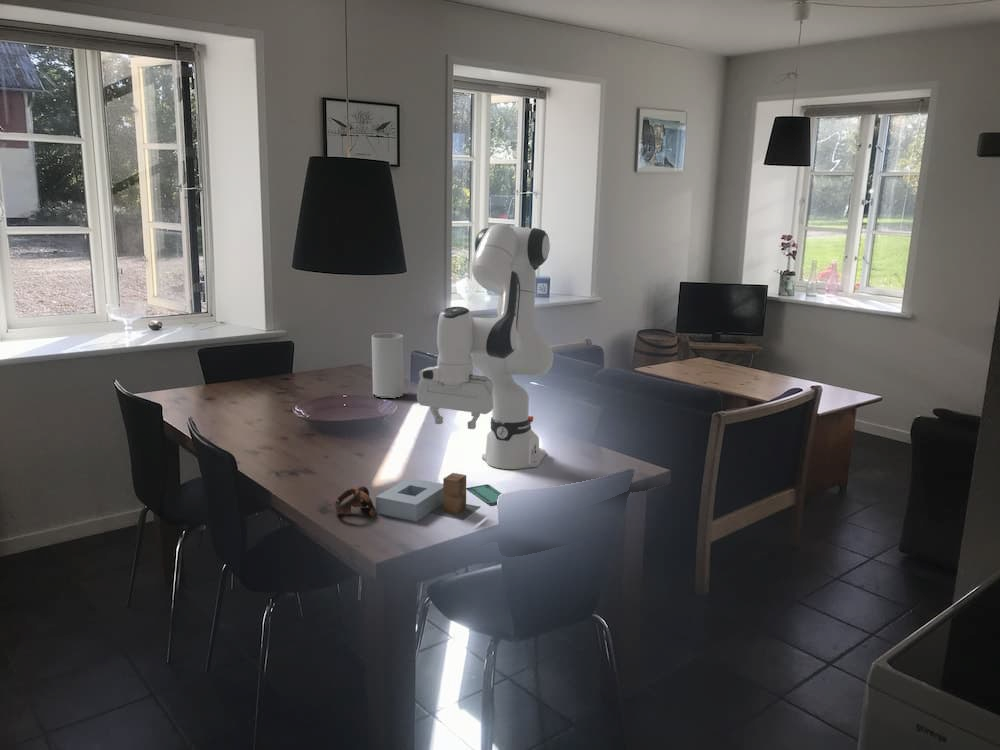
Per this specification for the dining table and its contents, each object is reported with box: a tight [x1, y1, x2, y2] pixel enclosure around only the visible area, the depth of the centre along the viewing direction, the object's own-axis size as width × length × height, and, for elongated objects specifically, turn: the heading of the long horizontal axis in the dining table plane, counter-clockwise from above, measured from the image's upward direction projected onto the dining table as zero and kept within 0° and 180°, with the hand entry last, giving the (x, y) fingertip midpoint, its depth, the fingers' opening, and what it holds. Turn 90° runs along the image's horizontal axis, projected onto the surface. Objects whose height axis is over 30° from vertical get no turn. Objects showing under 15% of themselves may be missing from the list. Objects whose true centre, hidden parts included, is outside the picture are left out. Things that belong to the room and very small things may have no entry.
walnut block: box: [442, 472, 467, 514], centre depth 206 cm, size 5×4×9 cm
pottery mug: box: [333, 486, 377, 518], centre depth 204 cm, size 12×10×8 cm
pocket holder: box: [375, 477, 443, 522], centre depth 208 cm, size 16×12×5 cm
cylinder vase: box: [371, 332, 405, 397], centre depth 325 cm, size 12×12×25 cm
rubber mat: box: [428, 503, 481, 521], centre depth 207 cm, size 10×10×1 cm
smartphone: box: [466, 484, 503, 507], centre depth 217 cm, size 7×1×15 cm
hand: (455, 426), depth 202 cm, fingers open, 8 cm apart
